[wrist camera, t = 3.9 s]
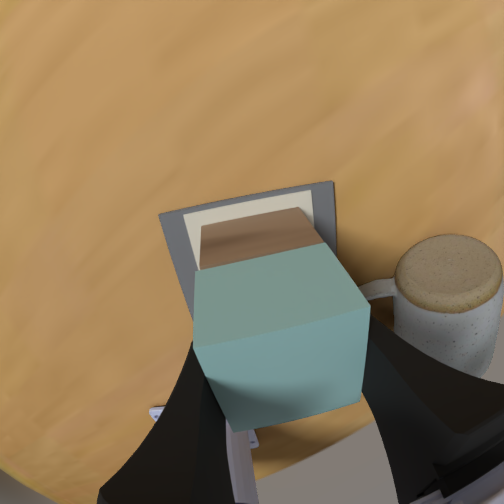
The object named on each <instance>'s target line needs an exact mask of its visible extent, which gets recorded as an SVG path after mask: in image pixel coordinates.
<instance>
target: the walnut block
mask: <svg viewBox="0 0 504 504" xmlns="http://www.w3.org/2000/svg"><path fill="white" fill-rule="evenodd" d="M320 243H324V241H323V240H322V238H321V237H320V236H319V234H318V233H317V232H316V230H315V229H314V227H313V226H312V225H311V223H310V222H309V220H308V219H307V218H306V216H305V215H304V214H303V212H302V211H301V210H300V208H299V207H294V208H289V209H283V210H278V211H273V212H268V213H262V214H257V215H252V216H247V217H242V218H237V219H232V220H227V221H222V222H217V223H212V224H208V225H203V226H201V240H200V261H199V267H200V270H204V269H208V268H213V267H217V266H222V265H226V264H231V263H235V262H240V261H244V260H249V259H253V258H258V257H262V256H267V255H271V254H276V253H280V252H285V251H289V250H294V249H298V248H303V247H307V246H311V245H316V244H320Z"/></svg>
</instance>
